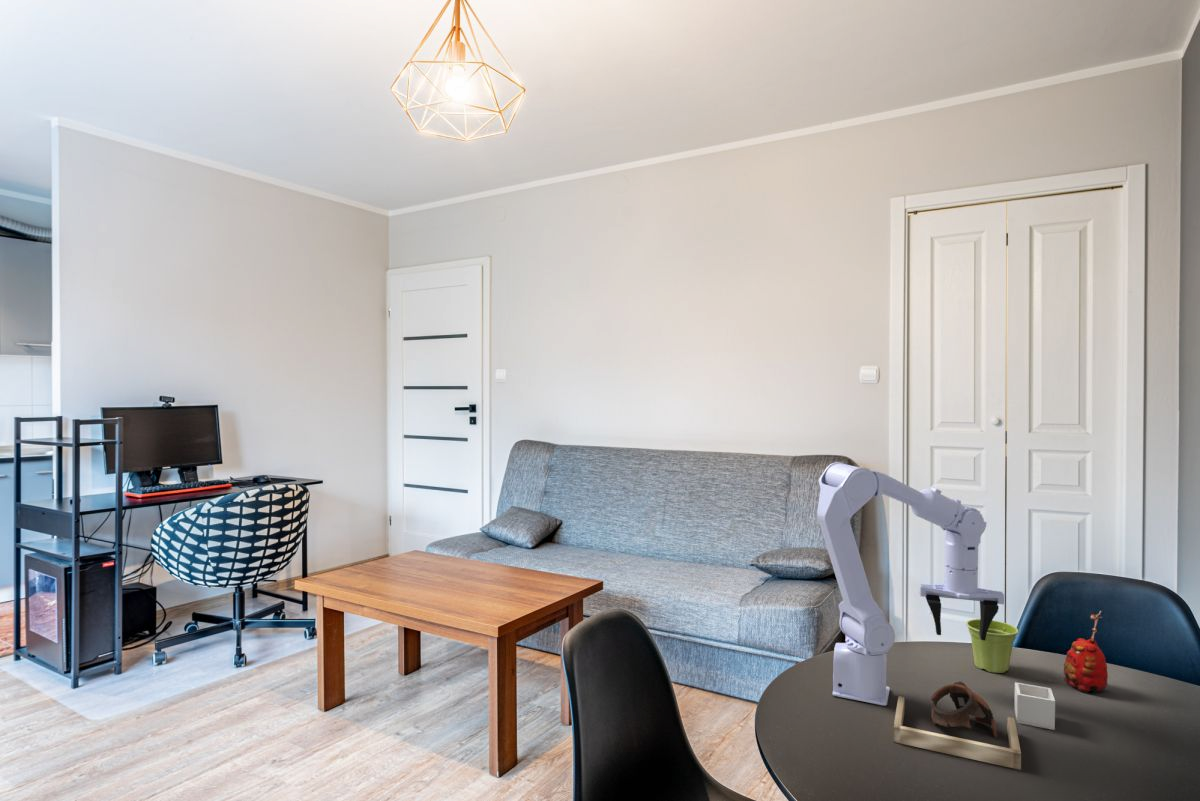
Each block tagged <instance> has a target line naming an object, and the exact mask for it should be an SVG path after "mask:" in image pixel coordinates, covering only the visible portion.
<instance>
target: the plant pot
mask: <svg viewBox="0 0 1200 801" xmlns="http://www.w3.org/2000/svg"><path fill="white" fill-rule="evenodd" d="M965 625H966V626H967V627H968V632H969V634H970V640H971V646H972V647H971V648H972V654H973V660H974V665H975V666H976V668H978V669H981V670H982V669H984V670H986V671H987V672H988V673H996V674H1002V673H1006V672H1007V671H1009V667H1010V662H1011V656H1012V652H1013V646H1014V641H1015V639H1016V636H1017V634H1018V633H1019V629H1018V628H1017V627H1016V626H1014V625H1012V624H1009V623H1007V622H1003V621H998V620H992V621H991V623H990V626H989V628H988V631H987V635H986V640H981V638H980V634H979V630H980V618H973V619H969V620H967V621H966V622H965Z"/></svg>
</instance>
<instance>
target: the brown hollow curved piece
mask: <svg viewBox="0 0 1200 801" xmlns="http://www.w3.org/2000/svg"><path fill="white" fill-rule="evenodd" d="M947 695H949V698H951V701H952V702H953V704H954V707H955V709H954V710H943V709H940V708H938V706H937V704H938V703H939V701H940V700H941V699H943V698H944V697H945V696H947ZM930 700H931V701H932V704H931V705H930V707H931V712H930V714H931V715H930V717H931V719H932V723H933V725H934V726H936V725H940V726H943V727H946V728H950V727H952V728H955V727H956V728H957V727H960V726H961V727H966V728H968V729H972V726H971V720H970V716H972V717H973V718H975V719H974V721H975V723H977V724H978V723H979V724H985V725H986V726H988V727H990V728H991V730H992V735H993V737H994V738H997V737H998V731H997V725H996V721H995V719H994V715H993V712H992V710H991V708H990V707H989V705H988V702H986V700H984V698H983V697H981V696H980V695H979V694H977V693H976V692H974V691H973V690H972V689H971V688H969V687H968V686H967V685H966V684H965V683H964V682H963V681H956V682H954V683H953V684H951V683H950V684H947V685H944V686H942V687H940V688H939V689H937V690H936V691H935V692H934V693H933V694H932V696H931V698H930Z"/></svg>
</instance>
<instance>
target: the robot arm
mask: <svg viewBox="0 0 1200 801" xmlns="http://www.w3.org/2000/svg"><path fill="white" fill-rule="evenodd" d="M818 483H819V487H820V489H819V490H820V491H819V498H818V504H817V511H816V515H817V519H818V524H819V526H820V529H821V532H822V536H823V537H822V538H823V539H824V543H825V547H826V550H827V553H828V555H829V556H828V557H829V558H830V563H831V566H832V569H833V572H834V575H835V578H836V581H837V586H838V588H839V592H840V595H841V598H842V601H840V603H839V604H838V609H839V627H840V630H841V631H842V634H844V635H845V640H844V641H845V642H836V643H835V645H834V651H833V666H832V671H833V672H832V686H833V687H832V696H835V697H838V698H844V699H849V700H854V701H860V702H863V703H864V702H865V703H870V704H874V705H878V706H885V707H886V706H887V705H888V701H889V697H890V696H889V695H890V690H891V689H890V688H891V687H890V686H887V655H889V654H888V653H889V652H888V651H889V650H890V649H891V648H892V647H893V646H894V643H895V639H896V638H895V637H896V634H895V630H894V628H893V626H892V625H891V624H890V622H889V621H888V620H887V619H886V616H885V613H884V611H883V610H882V609H881V606H879V604H878V603H877V602H876V600H875V599H874V597H873V595H872V591H871V587H870V584H869V580H868V578H867V574H866V571H865V568H864V564H863V560H862V559H861V558H862V557H861V554H860V551H859V549H858V545H857V541H856V538H855V535H854V532H853V531H854V530H853V528H852V525H851V521H850V520H851V519H852V517H853V516H854V515H855V514H856V513H857V512H858V511H859V510H860V509H861V508H862V507H863V506H864V505H866V504H867V503H868V502H869V501H870V500H871V499H872V498H873V497H880V496H882V495H884V496H887V497H889V498H891V499H894V500H896V501H899V502H901V503H903V504H906V505H908V506H910V507H911V511H912V513H913V514H914V516H915V517H918V518H921V519H923V520H925V521H927V522H929V523H931V524H934V525H936V526H938V527H940V528H941V529H942V530H943V531H944V532H945V534H944V536H945V537H944V543H945V544H944V584H922V583H919V592H918V593H919V596H920V597H924V598H925V600H926V603H927V605H928V607H929V609H930V611H931V614H932V618H933V620H934V621H933V622H934V624H935V625H934V626H935V633H936V635H937V636H942V624H941V616H942V615H941V613H942V603H941V598H944V599H955V600H962V601H963V600H964V601H975V602H979V614H980V618H979V619H980V630H979V634H980V638H981V640H986V635H987V631H988V628H989V626H990V623H991V621H992V620H993V619H994V618H995V616H996V615H997V613H998V612H999V605H1005V594H1004V592H1003V591H999V590H998V591H997V590H992V589H986V588H979V587H978V586H979V584H978V581H979V579H978V578H979V546H980V544H981V537H982V535H983V533H985V530H986V528H987V522H986V521H985V519H984V517H983V514H982V513H981V511H980V510H978V509H977V508H974V507H971V506H966V505H963V504H962V501H961V500H960V499H957V498H949V497H948V496H945V495H943V494H941V493H942V490H940V489H938V488H934V487H931V488H923V489H921V490H920V489H919V490H917V489H915V488H913V487H910V485H908V484H905V483H904V482H901V481H899V480H898V479H896V478H893V477H892V476H889V475H887V474H886V473H883V472H880V471H876V470H871V469H870V468H868V467H859V466H854V465H849V464H846V463H844V462H841V461H839V462H838V461H836V462H832V463H830V464H829V465H828V466H826V468H825V470H824V471H822V474H821V475H820V476H819V478H818Z"/></svg>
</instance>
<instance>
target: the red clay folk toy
mask: <svg viewBox="0 0 1200 801" xmlns="http://www.w3.org/2000/svg"><path fill="white" fill-rule="evenodd" d="M1101 614H1102V610H1099V612H1098V613H1097V614H1090V620H1094V626H1093V628H1092V629H1091V631H1092V635H1091V637H1090V639H1087V640H1086V639H1085V638H1077V639H1076V641H1073V642H1072V643H1071V648H1070V649H1069V650H1068V651H1067V652H1066V655H1065V661H1064V663H1063V675H1064V678H1063V679H1064V681H1065V682H1066V683H1068V684H1069V686H1071V687H1072V688H1073V689H1076V690H1078V691H1079V692H1083V693H1089V692H1092V693H1100V692H1102V691H1103V690H1105V688H1106V687H1107V686H1108V677H1109V676H1108V675H1109V674H1108V665H1107V661H1106V657H1105V654H1104V653H1103V651H1102V649H1100V647H1099V646H1098V643H1097V641H1096V639H1095V634H1096V633H1097V632H1098V631H1097V625H1098V621H1099V619H1103V616H1101Z"/></svg>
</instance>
